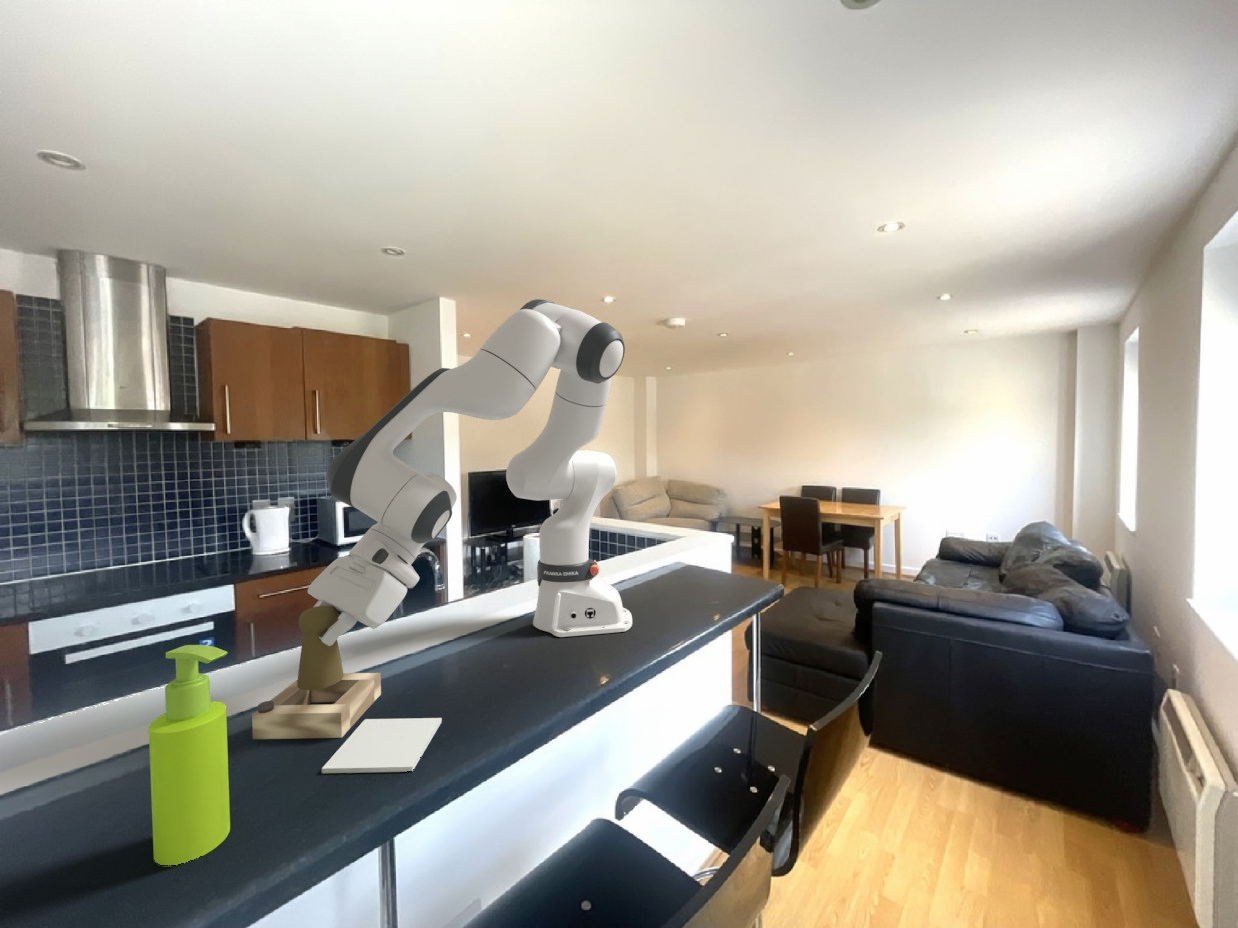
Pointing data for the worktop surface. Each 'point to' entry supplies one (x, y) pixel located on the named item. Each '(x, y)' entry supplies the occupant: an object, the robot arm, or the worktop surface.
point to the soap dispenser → (189, 763)
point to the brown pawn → (318, 650)
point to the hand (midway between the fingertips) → (315, 637)
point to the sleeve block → (316, 709)
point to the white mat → (384, 746)
